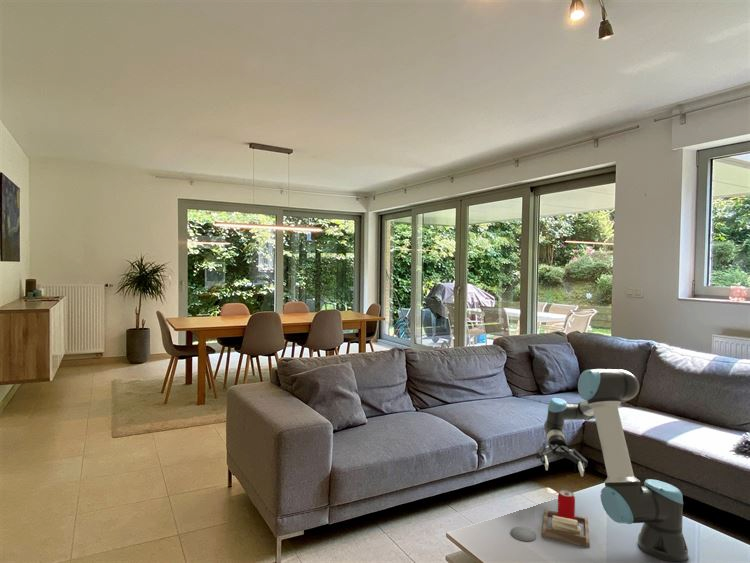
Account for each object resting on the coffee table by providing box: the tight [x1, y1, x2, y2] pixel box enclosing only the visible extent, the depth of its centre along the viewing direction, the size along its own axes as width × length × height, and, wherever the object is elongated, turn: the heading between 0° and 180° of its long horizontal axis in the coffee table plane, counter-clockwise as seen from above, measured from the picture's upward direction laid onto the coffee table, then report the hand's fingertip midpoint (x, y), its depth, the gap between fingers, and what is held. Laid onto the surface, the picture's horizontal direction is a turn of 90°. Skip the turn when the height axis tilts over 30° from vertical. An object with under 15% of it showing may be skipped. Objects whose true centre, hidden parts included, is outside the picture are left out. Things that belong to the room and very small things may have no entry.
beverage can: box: [557, 489, 576, 520], centre depth 178 cm, size 6×6×12 cm
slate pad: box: [510, 526, 537, 543], centre depth 170 cm, size 9×9×1 cm
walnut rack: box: [541, 509, 591, 548], centre depth 174 cm, size 19×16×3 cm
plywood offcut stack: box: [551, 515, 582, 535], centre depth 169 cm, size 4×10×6 cm, turn 66°
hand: (564, 470), depth 184 cm, fingers open, 13 cm apart
